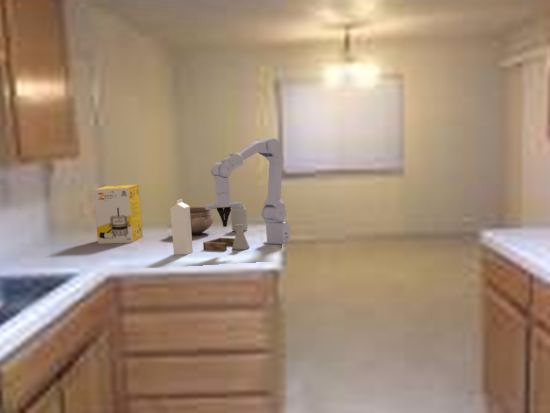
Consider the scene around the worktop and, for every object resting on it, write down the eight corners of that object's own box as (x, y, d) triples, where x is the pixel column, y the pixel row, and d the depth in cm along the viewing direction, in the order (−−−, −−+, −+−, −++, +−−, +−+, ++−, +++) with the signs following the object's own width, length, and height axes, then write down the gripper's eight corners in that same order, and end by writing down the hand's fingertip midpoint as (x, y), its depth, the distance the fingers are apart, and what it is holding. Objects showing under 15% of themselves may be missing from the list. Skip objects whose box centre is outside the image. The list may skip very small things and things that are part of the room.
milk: (173, 254, 285) (169, 200, 282) (179, 251, 290) (175, 198, 288) (187, 254, 283) (183, 199, 280) (193, 251, 289) (189, 198, 286)
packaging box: (98, 243, 324) (93, 189, 321) (109, 238, 340) (105, 186, 337) (132, 242, 322) (128, 187, 319) (142, 236, 338) (138, 184, 335)
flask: (252, 247, 292) (251, 223, 291) (244, 250, 285) (243, 226, 284) (237, 246, 295) (235, 223, 294) (228, 250, 288) (227, 225, 287)
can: (240, 232, 334) (239, 207, 333) (228, 231, 339) (227, 206, 337) (250, 229, 340) (249, 205, 339) (238, 229, 345) (237, 204, 343)
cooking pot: (181, 230, 350) (180, 206, 349) (219, 229, 347) (217, 204, 346) (166, 239, 325) (164, 213, 324) (206, 238, 323) (205, 211, 321)
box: (241, 245, 297) (241, 238, 297) (225, 250, 287) (224, 243, 286) (220, 244, 303) (220, 237, 302) (203, 249, 293) (203, 242, 292)
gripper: (239, 190, 286) (241, 223, 288) (203, 193, 284) (206, 226, 286) (241, 192, 279) (243, 225, 281) (205, 194, 277) (207, 228, 279)
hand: (225, 226), depth 283 cm, fingers closed
